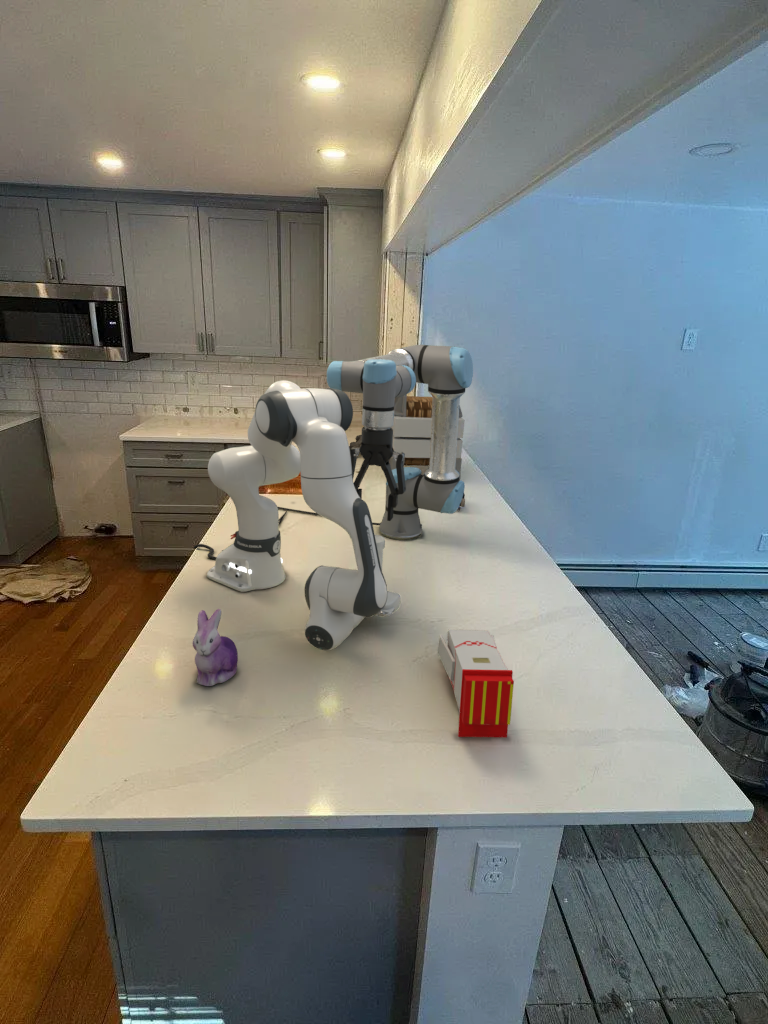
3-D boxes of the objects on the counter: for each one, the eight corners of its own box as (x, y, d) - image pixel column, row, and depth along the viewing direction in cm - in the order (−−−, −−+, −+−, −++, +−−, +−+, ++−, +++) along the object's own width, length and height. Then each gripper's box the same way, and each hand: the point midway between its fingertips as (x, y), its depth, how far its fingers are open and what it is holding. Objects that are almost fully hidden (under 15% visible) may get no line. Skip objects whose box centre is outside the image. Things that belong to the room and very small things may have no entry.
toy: (488, 613, 130) (523, 677, 101) (484, 667, 133) (517, 744, 104) (435, 612, 130) (455, 676, 101) (432, 666, 133) (451, 743, 103)
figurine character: (465, 515, 224) (460, 499, 237) (467, 498, 221) (462, 483, 234) (448, 515, 224) (444, 499, 237) (450, 498, 220) (445, 482, 234)
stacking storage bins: (382, 463, 289) (386, 382, 275) (445, 464, 293) (451, 384, 279) (390, 482, 257) (394, 392, 243) (460, 483, 261) (468, 394, 247)
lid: (371, 553, 141) (371, 545, 141) (356, 545, 145) (356, 537, 145) (389, 547, 145) (389, 539, 144) (374, 540, 149) (374, 532, 149)
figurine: (199, 693, 114) (193, 629, 109) (190, 666, 122) (184, 604, 117) (245, 682, 118) (242, 619, 113) (233, 656, 127) (230, 596, 122)
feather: (294, 505, 227) (296, 501, 226) (277, 528, 200) (280, 524, 199) (290, 503, 226) (292, 499, 226) (273, 526, 200) (276, 521, 199)
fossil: (346, 440, 316) (367, 425, 311) (357, 453, 319) (378, 438, 314) (340, 453, 296) (362, 438, 291) (351, 468, 299) (374, 452, 294)
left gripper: (389, 605, 133) (410, 581, 145) (313, 586, 140) (338, 565, 152) (388, 628, 135) (408, 602, 147) (313, 608, 142) (338, 586, 154)
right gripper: (423, 428, 136) (417, 517, 143) (342, 420, 141) (340, 506, 148) (416, 434, 129) (410, 527, 137) (331, 425, 134) (330, 516, 142)
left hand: (372, 583), depth 150 cm, fingers closed on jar, 5 cm apart
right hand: (374, 516), depth 143 cm, fingers open, 8 cm apart
